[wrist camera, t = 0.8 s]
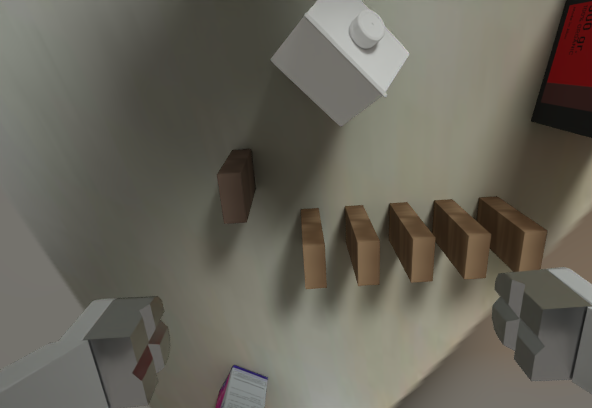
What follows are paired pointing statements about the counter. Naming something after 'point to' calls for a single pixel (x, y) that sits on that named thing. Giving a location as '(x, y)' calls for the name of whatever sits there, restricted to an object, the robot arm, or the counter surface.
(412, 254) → the tile
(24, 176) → the counter surface
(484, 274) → the tile
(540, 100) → the cleaning product box
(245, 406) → the supplement box
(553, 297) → the robot arm
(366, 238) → the tile
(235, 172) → the tile
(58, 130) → the counter surface
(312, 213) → the tile
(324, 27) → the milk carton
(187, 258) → the counter surface
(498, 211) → the tile
